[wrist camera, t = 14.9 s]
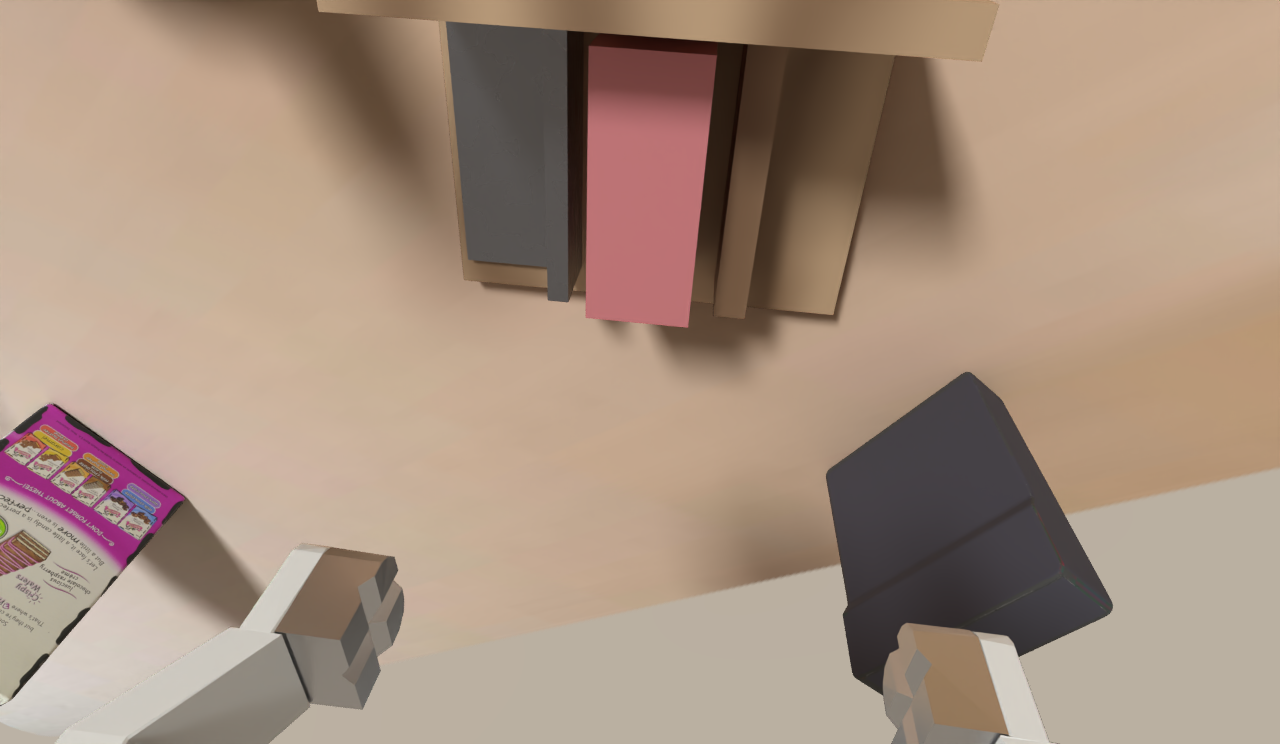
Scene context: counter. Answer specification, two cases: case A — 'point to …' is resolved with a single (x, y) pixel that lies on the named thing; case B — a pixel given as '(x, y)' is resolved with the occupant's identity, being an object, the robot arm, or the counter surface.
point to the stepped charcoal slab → (955, 533)
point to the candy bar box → (64, 533)
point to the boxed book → (645, 174)
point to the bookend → (520, 146)
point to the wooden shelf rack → (748, 123)
